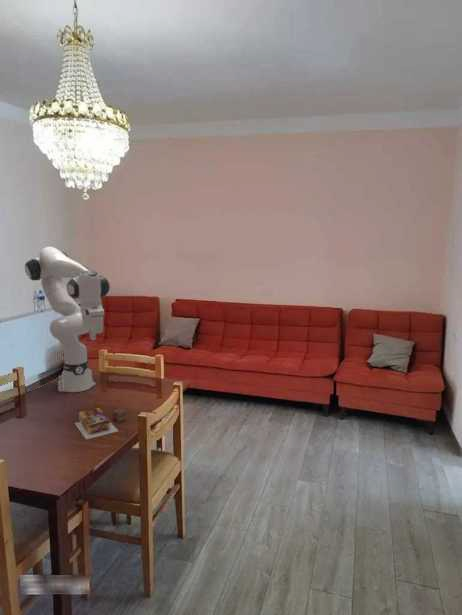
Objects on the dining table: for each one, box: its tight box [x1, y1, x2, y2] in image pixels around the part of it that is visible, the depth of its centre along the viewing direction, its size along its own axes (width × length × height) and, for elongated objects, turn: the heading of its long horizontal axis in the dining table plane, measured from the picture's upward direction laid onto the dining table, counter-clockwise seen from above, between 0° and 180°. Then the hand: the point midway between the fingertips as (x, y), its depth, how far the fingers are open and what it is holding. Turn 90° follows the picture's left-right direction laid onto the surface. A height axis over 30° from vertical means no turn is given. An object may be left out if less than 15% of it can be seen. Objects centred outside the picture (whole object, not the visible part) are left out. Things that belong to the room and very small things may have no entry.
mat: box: [74, 421, 119, 440], centre depth 179 cm, size 17×13×1 cm
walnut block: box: [112, 408, 127, 423], centre depth 187 cm, size 4×4×4 cm
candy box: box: [78, 407, 111, 434], centre depth 180 cm, size 9×4×15 cm
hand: (92, 339), depth 188 cm, fingers closed
